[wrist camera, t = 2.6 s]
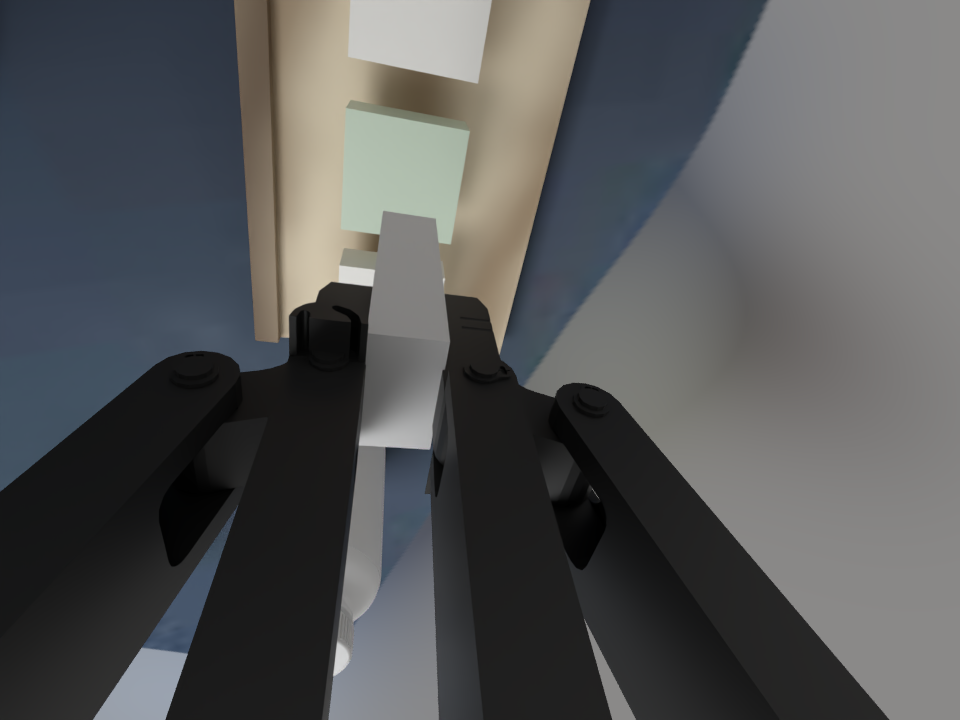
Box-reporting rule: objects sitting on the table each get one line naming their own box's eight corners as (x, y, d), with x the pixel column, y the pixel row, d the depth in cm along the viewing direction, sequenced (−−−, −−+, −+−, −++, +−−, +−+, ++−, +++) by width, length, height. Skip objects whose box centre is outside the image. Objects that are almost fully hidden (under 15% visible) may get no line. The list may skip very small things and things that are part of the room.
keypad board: (266, 316, 30) (255, 340, 28) (227, -506, 15) (197, -591, 13) (494, 340, 33) (500, 363, 31) (658, -331, 18) (692, -377, 16)
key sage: (345, 213, 23) (340, 229, 22) (350, 99, 21) (345, 107, 19) (448, 228, 24) (450, 244, 23) (465, 121, 22) (469, 131, 20)
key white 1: (339, 332, 27) (335, 353, 25) (343, 247, 24) (339, 265, 23) (429, 341, 28) (431, 362, 26) (442, 260, 25) (444, 278, 24)
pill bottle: (405, 458, 38) (404, 671, 26) (311, 492, 39) (267, 713, 27) (353, 383, 34) (322, 598, 22) (248, 424, 35) (161, 652, 23)
